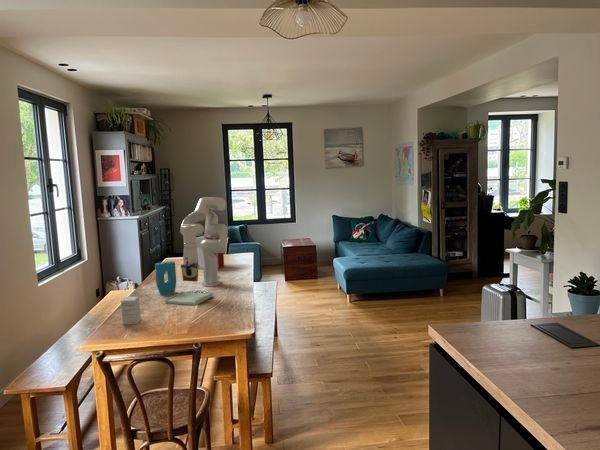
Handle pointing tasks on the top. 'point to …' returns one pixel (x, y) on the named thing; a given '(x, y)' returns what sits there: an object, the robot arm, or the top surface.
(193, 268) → the food container
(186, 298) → the board
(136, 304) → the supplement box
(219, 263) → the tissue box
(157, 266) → the block
